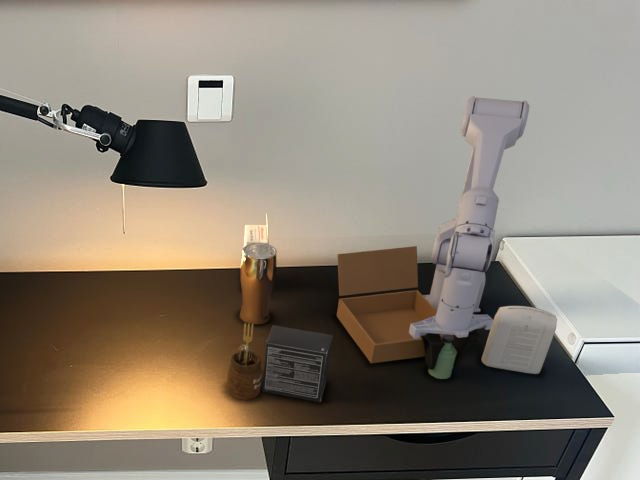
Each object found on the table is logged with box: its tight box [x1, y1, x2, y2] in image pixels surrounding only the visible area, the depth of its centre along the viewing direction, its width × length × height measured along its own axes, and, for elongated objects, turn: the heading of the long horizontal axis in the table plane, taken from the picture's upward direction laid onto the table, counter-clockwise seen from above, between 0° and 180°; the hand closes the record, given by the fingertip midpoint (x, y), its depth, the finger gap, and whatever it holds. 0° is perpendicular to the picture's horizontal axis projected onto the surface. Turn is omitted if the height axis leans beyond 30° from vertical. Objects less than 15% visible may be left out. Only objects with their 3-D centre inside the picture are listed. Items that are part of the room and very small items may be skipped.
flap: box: [337, 245, 419, 297], centre depth 150 cm, size 8×17×1 cm
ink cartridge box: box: [243, 212, 270, 248], centre depth 160 cm, size 9×5×15 cm, turn 177°
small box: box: [261, 325, 333, 403], centre depth 131 cm, size 11×6×10 cm, turn 71°
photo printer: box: [481, 305, 558, 375], centre depth 135 cm, size 10×4×12 cm, turn 72°
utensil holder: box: [226, 322, 263, 401], centre depth 130 cm, size 6×6×12 cm
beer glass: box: [239, 243, 278, 326], centre depth 148 cm, size 7×7×15 cm
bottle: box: [427, 334, 457, 380], centre depth 134 cm, size 4×4×8 cm
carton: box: [336, 289, 453, 364], centre depth 146 cm, size 17×17×4 cm
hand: (441, 365), depth 135 cm, fingers closed on bottle, 4 cm apart
